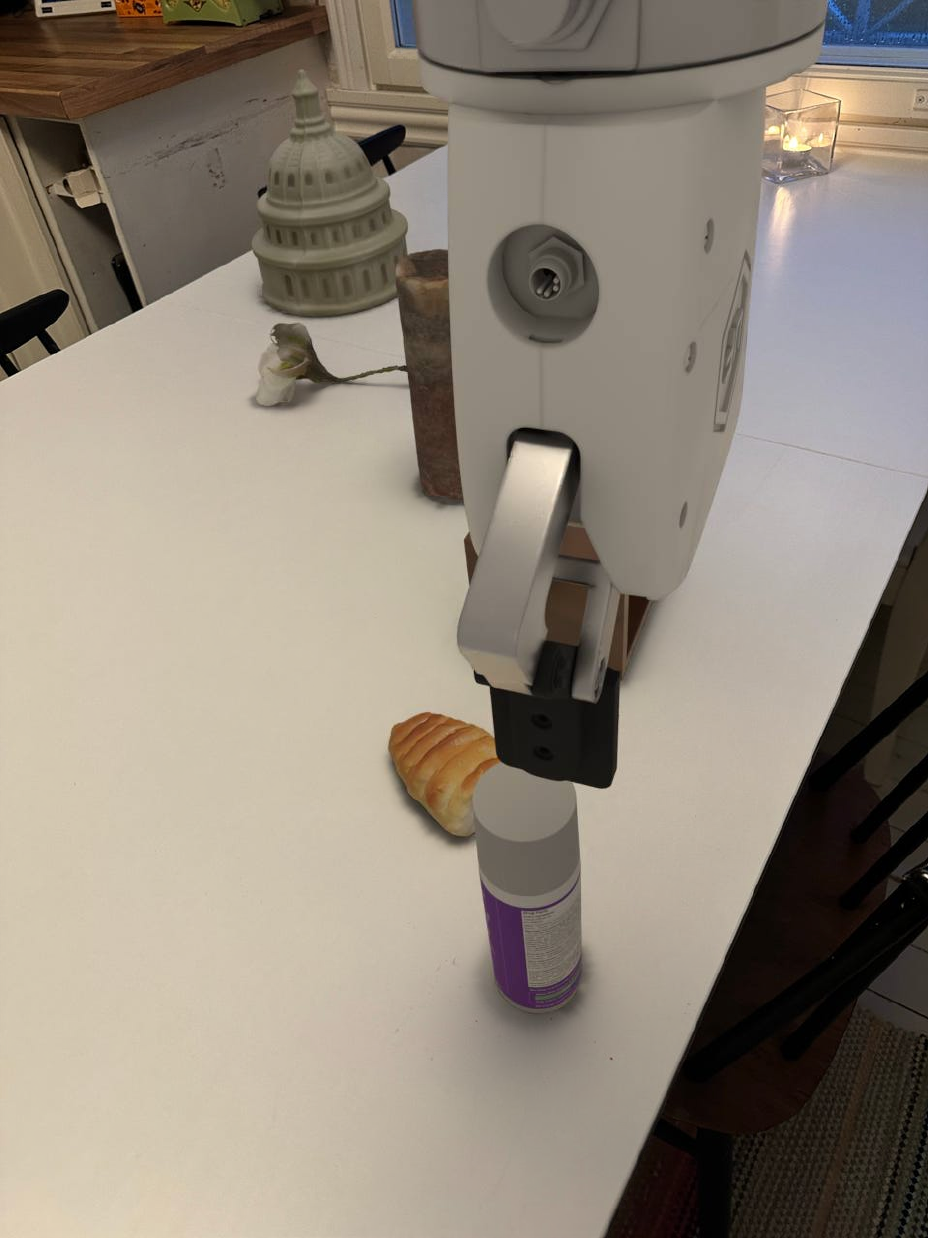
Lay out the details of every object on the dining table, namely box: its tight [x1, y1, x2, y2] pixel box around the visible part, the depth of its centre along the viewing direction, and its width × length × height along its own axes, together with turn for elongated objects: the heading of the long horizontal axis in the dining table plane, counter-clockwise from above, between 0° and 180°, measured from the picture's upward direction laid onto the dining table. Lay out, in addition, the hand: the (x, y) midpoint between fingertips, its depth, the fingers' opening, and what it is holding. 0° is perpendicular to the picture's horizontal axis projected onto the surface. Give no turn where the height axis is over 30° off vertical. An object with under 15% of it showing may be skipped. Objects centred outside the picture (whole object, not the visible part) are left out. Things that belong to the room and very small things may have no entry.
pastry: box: [387, 711, 501, 837], centre depth 58 cm, size 9×7×4 cm
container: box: [472, 762, 583, 1014], centre depth 44 cm, size 5×5×15 cm
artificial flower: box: [255, 322, 407, 407], centre depth 97 cm, size 9×22×10 cm, turn 78°
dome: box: [251, 69, 409, 317], centre depth 114 cm, size 20×25×20 cm
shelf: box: [463, 526, 654, 680], centre depth 68 cm, size 11×14×10 cm
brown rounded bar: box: [395, 248, 464, 500], centre depth 78 cm, size 8×7×20 cm
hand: (603, 648), depth 28 cm, fingers open, 9 cm apart
